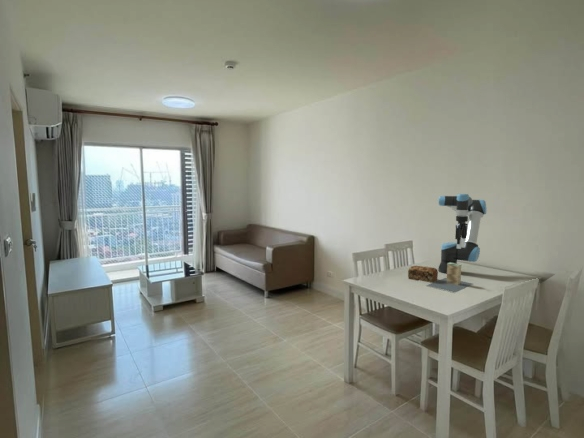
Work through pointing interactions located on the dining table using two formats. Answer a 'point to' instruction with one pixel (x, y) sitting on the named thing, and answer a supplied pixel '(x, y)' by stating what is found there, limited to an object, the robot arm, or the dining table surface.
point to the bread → (423, 273)
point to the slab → (454, 273)
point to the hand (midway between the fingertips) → (460, 247)
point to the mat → (449, 285)
